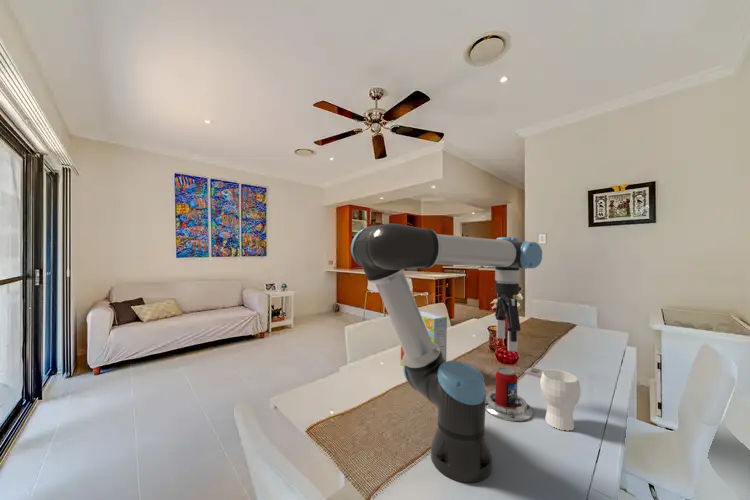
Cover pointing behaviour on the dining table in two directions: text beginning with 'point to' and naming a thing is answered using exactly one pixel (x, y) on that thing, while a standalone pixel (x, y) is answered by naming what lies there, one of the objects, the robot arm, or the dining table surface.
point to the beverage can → (506, 388)
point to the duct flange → (508, 409)
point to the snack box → (434, 331)
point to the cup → (560, 397)
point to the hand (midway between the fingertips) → (506, 344)
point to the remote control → (534, 372)
